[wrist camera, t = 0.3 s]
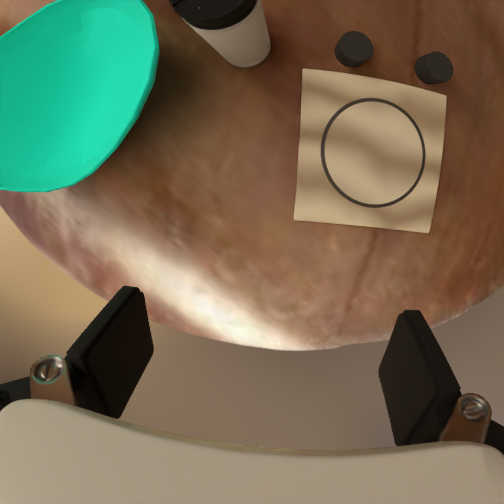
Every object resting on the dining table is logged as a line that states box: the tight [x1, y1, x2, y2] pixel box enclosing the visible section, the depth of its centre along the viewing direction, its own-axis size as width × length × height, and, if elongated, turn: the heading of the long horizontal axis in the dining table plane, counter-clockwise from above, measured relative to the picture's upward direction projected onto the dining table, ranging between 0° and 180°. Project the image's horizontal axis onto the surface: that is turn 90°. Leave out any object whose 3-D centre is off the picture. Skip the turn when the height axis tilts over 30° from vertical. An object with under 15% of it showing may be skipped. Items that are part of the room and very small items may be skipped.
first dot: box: [335, 31, 373, 67], centre depth 29 cm, size 4×4×4 cm
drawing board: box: [294, 68, 446, 233], centre depth 35 cm, size 20×20×1 cm
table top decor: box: [0, 0, 160, 192], centre depth 29 cm, size 40×28×13 cm
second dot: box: [415, 52, 453, 84], centre depth 28 cm, size 4×4×4 cm
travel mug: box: [169, 0, 271, 68], centre depth 22 cm, size 6×7×20 cm
